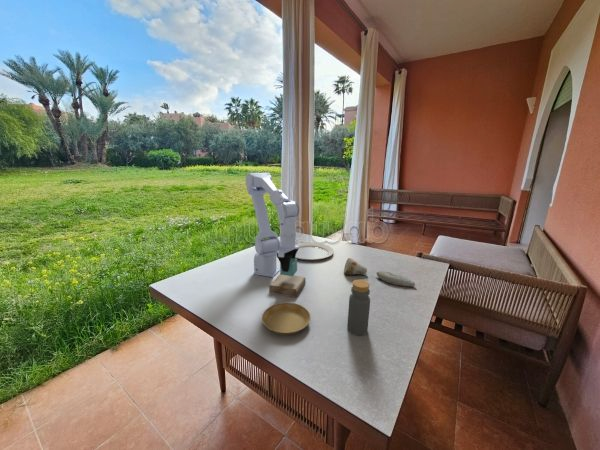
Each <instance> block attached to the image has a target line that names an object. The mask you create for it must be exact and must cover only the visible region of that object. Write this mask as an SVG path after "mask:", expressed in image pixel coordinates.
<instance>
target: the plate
mask: <svg viewBox="0 0 600 450" xmlns="http://www.w3.org/2000/svg"><path fill="white" fill-rule="evenodd" d="M296 246H299V249H300V248H315V247H318V248H317V249H320V248H322V249H321V250H323V249H325V250H326V251H327V252H328V253H327V252H326V251H325V250H324V251H325V252H326V253H327V255H326V256H323V257H319V258H302V257H298V256H297V255H296V256H295V259H297V260H298V259H299V260H304V261H319V260H324V259H325V258H328V257H331V256H332V255H334V248H332V246H329V245H327V244H324V243H320V242H298V243H297V245H296Z"/></svg>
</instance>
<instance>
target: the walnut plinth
mask: <svg viewBox="0 0 600 450" xmlns="http://www.w3.org/2000/svg"><path fill="white" fill-rule="evenodd" d="M306 280H307V279H306V277H305V276H300V275H295V274H294V275H293V276H287V275H281V274H280V273H279V275H278V276H276V277H275V279H274V280H273V281H272V282H271V283H270V284H269V286H268V292H269V293H270V294H276V295H280V296H287V297H293V298H298V296H299V295H300V293H301V291H302V290H303V288H304V287H305V285H306Z"/></svg>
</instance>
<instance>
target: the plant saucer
mask: <svg viewBox="0 0 600 450" xmlns="http://www.w3.org/2000/svg"><path fill="white" fill-rule="evenodd" d="M261 321H262V324H263V325H264V326H265V327H266V328H267V329H268V330H270V331H271V332H273V333H275V334H277V335H281V336H289V335H294V334H297V333H299V332H301V331H302V330H304V329H305V328H307V326H308V325H309V323H310V322H311V314H310V311H309V310H308V309H307V308H306V307H305V306H303V305H301V304H298V303H294V302H279V303H275V304H273V305H271V306H269V307H267V308H266V309H265V310H264V311H263V313H262V314H261Z"/></svg>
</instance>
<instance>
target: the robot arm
mask: <svg viewBox="0 0 600 450" xmlns="http://www.w3.org/2000/svg"><path fill="white" fill-rule="evenodd" d="M245 185H246V190H247V194H248V195H250V196H251V199H252V203H253V210H254V213H255V218H256V222H257V227H258V231H259V233H258V234H257V235H256V236H255V238H254V249H255V252H256V253H255V254H254V257H253V275H258V276H263V277H269V278H274V277H275V276H276V275H277V273H278V272H280V268H277V266H278V265H277V260H278V261H279V263H280V264H281V267H282V271H285V272H288V270H289V264H290V260H291V258H294V259H296V257H297V253H298V251H299V249H300V248H299V246H296V245H297V241H298V240H297V239H296V237H297V235H296V232H297V231H296V230H297V227H296V226H297V224H296V223H297V222H296V221H297V217H298V216H299V214H300V207H299V204H298V202H297V201H296V200H292V199H290V198H288V196H287V195H286V194H285V192H284V191H283V190H282V189H278V188H277V187H276V186H275V184H274V182H273V177H272V175H271V174H270V172H268V171H266V172H247V173H246V176H245ZM265 194H268V195H269V200H270V202H271V203H272V205H274V207H275V209H276V213H277V217H278V222H279V230H280V231H279V233H280V235H279V236H280V237H279V236H278V234H277V233H276V232H274V231H273V230H272V229H271V225H270V220H269V216H268V211H267V207H266V202H265V198H264V196H265ZM279 238H280V239H279ZM295 256H296V257H295ZM280 264H279V265H280Z"/></svg>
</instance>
